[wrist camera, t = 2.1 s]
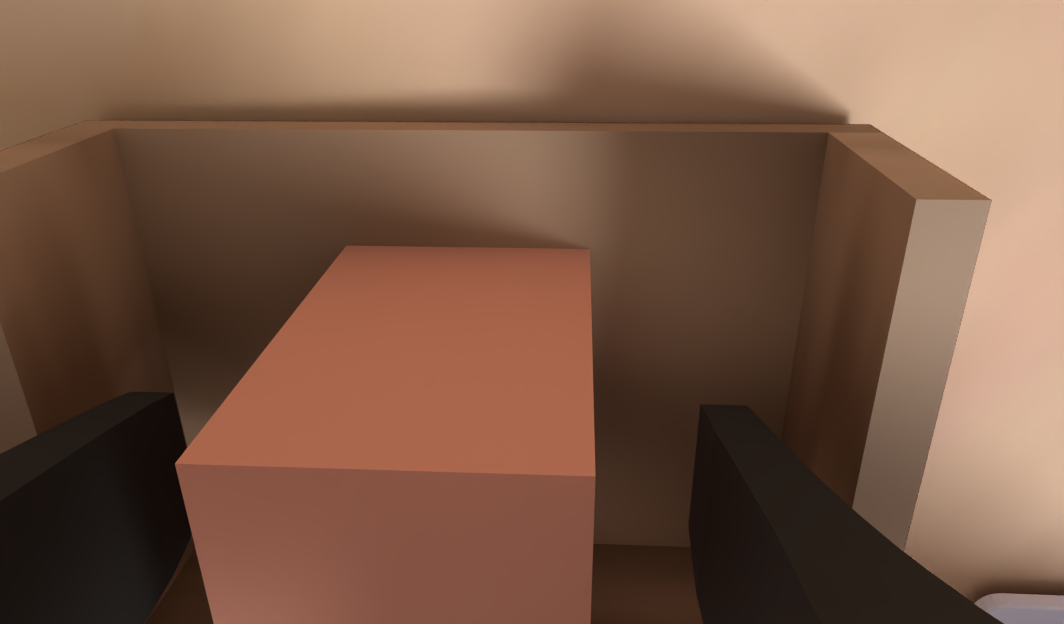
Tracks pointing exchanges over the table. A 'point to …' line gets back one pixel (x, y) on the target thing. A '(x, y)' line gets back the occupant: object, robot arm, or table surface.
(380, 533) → the block
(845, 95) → the table surface
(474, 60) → the table surface
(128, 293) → the box
